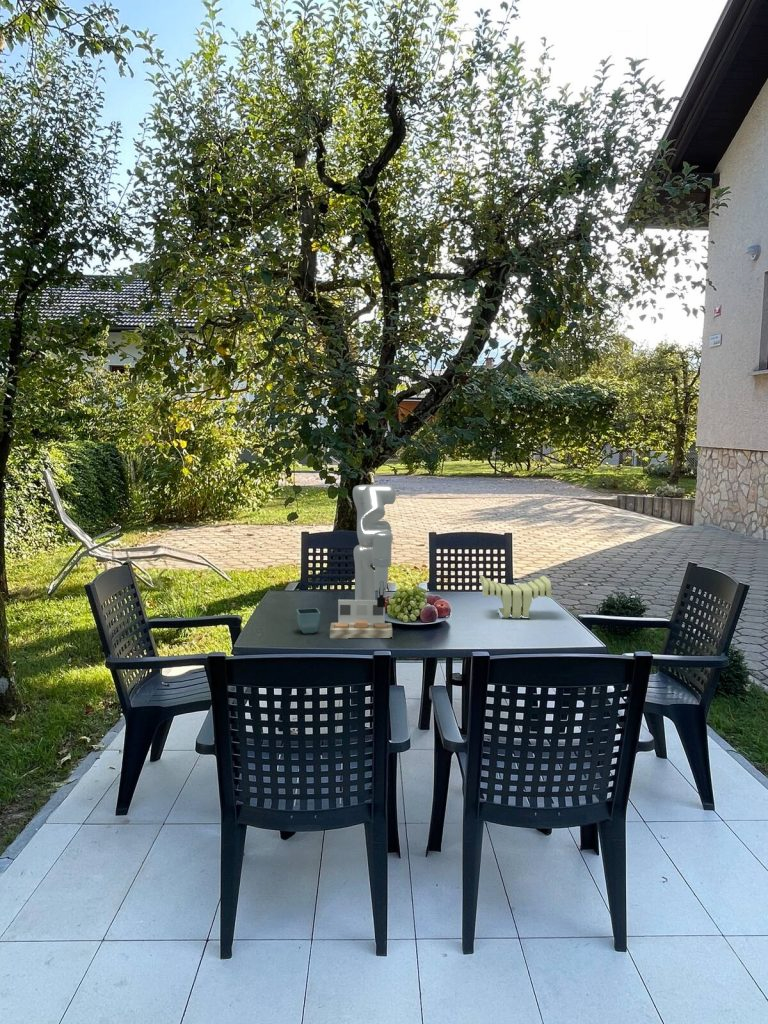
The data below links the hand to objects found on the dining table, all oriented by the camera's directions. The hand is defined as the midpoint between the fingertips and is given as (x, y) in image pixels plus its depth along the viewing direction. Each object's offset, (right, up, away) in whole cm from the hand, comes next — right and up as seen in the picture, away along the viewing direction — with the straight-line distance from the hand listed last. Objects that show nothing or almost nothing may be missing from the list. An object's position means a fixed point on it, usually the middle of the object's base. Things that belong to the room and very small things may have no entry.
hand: (381, 606), depth 295 cm
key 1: (-16, -11, 0) cm, 19 cm away
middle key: (-8, -10, 0) cm, 12 cm away
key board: (-8, -12, 0) cm, 14 cm away
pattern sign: (-8, -10, +15) cm, 20 cm away
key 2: (0, -11, 0) cm, 11 cm away
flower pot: (-30, -11, +3) cm, 32 cm away
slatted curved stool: (+61, -10, +38) cm, 72 cm away
